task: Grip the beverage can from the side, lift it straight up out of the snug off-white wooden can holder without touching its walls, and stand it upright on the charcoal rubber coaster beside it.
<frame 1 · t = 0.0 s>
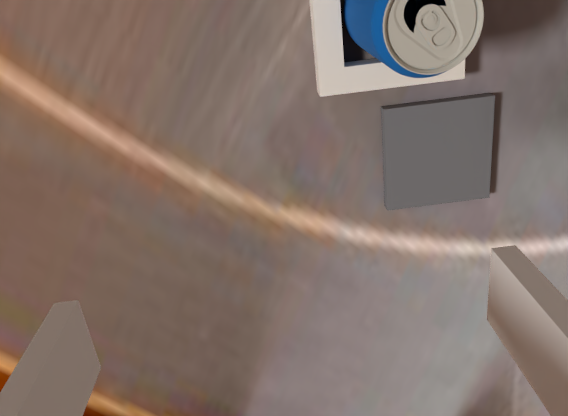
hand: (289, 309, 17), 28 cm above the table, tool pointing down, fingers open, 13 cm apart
coaster: (435, 151, 45), on the table
beverage can: (383, 8, 40), resting in can holder
can holder: (384, 8, 39), on the table
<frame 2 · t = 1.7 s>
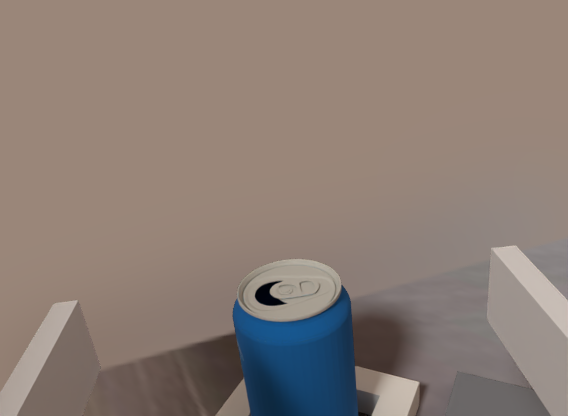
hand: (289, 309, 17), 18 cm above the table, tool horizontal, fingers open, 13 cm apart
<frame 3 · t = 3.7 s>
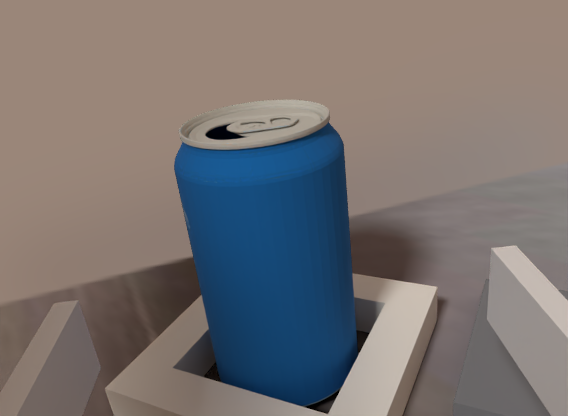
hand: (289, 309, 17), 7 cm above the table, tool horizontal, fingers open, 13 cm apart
beverage can: (289, 371, 24), resting in can holder
can holder: (289, 367, 24), on the table
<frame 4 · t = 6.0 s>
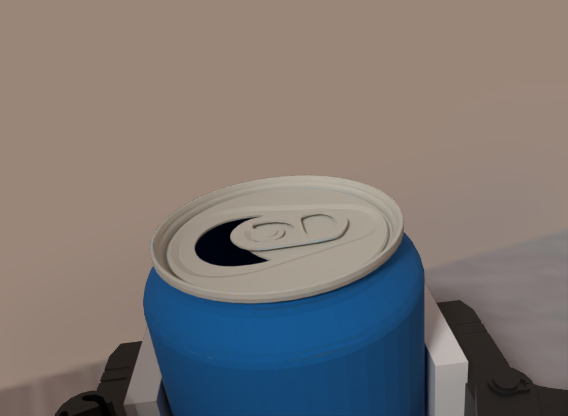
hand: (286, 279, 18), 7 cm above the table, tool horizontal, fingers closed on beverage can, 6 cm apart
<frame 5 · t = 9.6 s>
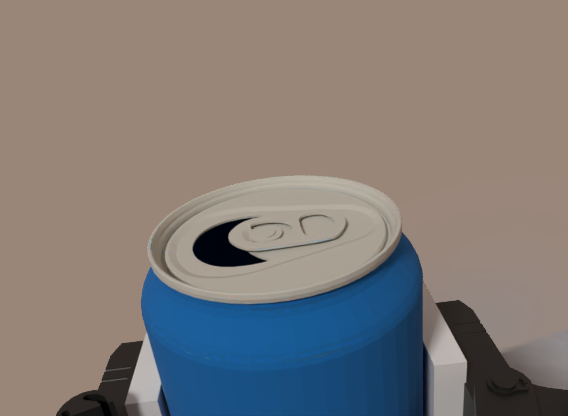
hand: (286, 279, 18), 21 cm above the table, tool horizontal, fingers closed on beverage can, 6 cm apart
when the fingers open (10 cm above the table, at t = 12.7 s): beverage can drops 1 cm, resting on coaster.
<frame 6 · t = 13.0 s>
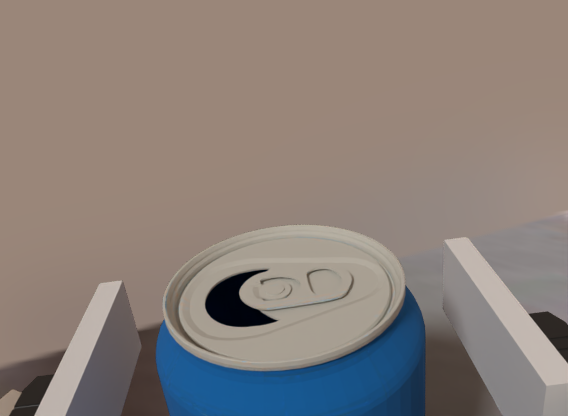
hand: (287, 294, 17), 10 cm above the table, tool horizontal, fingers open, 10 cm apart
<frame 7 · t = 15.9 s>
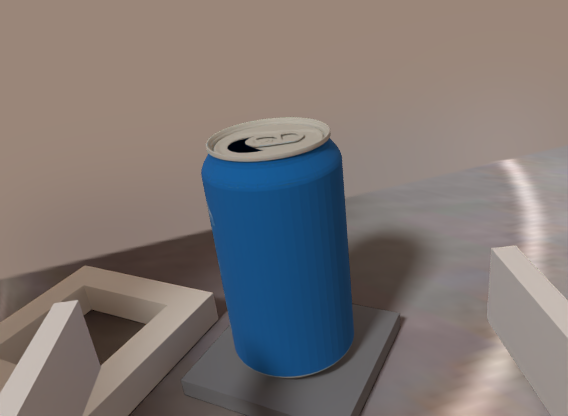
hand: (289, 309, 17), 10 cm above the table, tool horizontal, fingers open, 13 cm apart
coaster: (297, 358, 29), on the table
beverage can: (295, 348, 29), point 1 cm above the table, touching coaster
can holder: (89, 355, 31), on the table
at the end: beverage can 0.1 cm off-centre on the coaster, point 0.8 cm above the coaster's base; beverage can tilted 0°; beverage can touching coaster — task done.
